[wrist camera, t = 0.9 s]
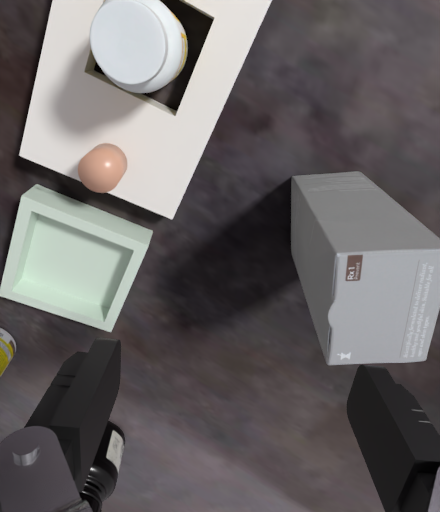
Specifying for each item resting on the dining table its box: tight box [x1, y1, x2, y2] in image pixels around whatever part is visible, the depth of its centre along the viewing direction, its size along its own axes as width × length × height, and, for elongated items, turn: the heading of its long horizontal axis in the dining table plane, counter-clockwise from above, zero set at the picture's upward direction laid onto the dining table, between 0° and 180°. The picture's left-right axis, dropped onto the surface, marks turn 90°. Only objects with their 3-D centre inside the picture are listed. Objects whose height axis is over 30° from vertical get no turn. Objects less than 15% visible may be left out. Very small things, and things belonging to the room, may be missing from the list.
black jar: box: [78, 421, 125, 512], centre depth 45 cm, size 10×9×12 cm
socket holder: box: [19, 0, 272, 219], centre depth 25 cm, size 13×23×6 cm, turn 154°
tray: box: [0, 184, 153, 332], centre depth 35 cm, size 11×11×3 cm
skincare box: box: [291, 171, 440, 365], centre depth 28 cm, size 8×7×16 cm
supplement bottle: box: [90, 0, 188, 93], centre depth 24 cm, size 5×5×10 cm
